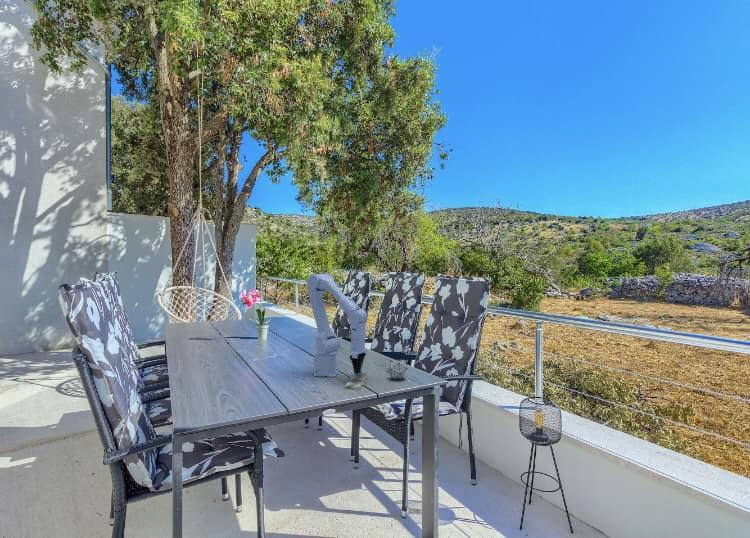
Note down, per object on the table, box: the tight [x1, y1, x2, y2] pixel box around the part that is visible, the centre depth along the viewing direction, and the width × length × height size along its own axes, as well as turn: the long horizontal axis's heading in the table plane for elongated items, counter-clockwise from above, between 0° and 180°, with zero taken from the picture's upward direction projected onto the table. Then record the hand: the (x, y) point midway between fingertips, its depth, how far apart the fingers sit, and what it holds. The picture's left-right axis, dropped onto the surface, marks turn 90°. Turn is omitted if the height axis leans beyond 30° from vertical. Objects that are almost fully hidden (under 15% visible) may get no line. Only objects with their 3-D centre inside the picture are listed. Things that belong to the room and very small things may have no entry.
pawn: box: [353, 363, 363, 375], centre depth 164 cm, size 3×3×7 cm
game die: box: [385, 358, 409, 381], centre depth 166 cm, size 9×8×10 cm
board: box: [344, 373, 369, 390], centre depth 162 cm, size 6×18×1 cm, turn 172°
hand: (357, 371), depth 164 cm, fingers closed on pawn, 3 cm apart
